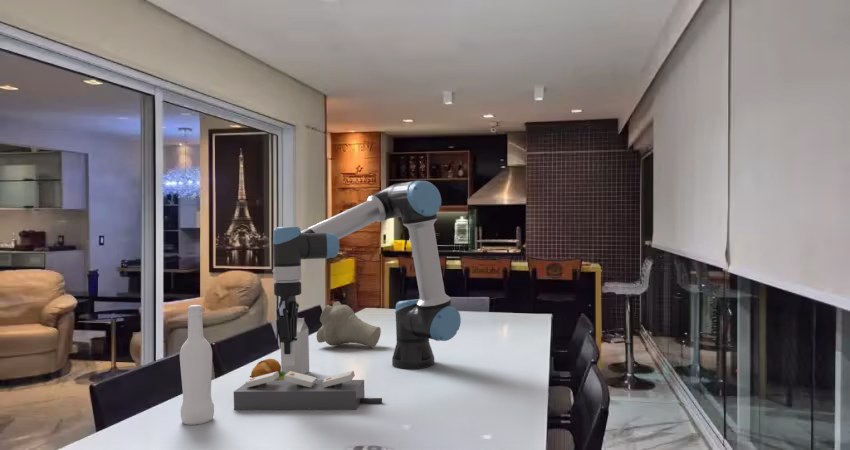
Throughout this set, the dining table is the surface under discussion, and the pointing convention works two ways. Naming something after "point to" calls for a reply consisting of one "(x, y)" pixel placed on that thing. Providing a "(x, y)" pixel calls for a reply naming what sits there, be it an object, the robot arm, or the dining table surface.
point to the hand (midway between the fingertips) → (288, 364)
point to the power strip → (302, 396)
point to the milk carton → (299, 350)
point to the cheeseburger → (267, 369)
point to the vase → (345, 327)
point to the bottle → (196, 372)
